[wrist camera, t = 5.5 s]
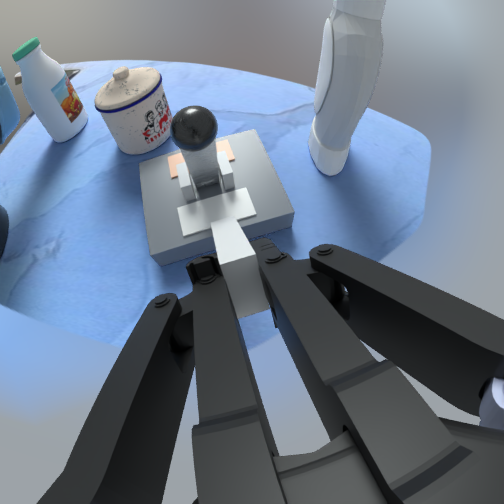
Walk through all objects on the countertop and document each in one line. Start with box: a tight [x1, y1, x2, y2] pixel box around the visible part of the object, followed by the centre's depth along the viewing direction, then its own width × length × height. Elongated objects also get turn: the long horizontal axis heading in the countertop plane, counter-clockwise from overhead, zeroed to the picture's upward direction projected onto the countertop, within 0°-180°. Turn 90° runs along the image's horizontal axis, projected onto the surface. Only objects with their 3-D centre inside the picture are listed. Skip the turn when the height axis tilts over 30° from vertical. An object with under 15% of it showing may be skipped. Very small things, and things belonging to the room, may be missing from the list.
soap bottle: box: [308, 0, 386, 176], centre depth 22 cm, size 13×8×24 cm, turn 173°
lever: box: [170, 106, 220, 189], centre depth 21 cm, size 3×3×13 cm
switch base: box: [139, 129, 294, 266], centre depth 28 cm, size 12×14×5 cm
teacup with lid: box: [95, 66, 173, 155], centre depth 30 cm, size 12×9×12 cm
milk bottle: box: [12, 37, 88, 143], centre depth 29 cm, size 8×8×20 cm
